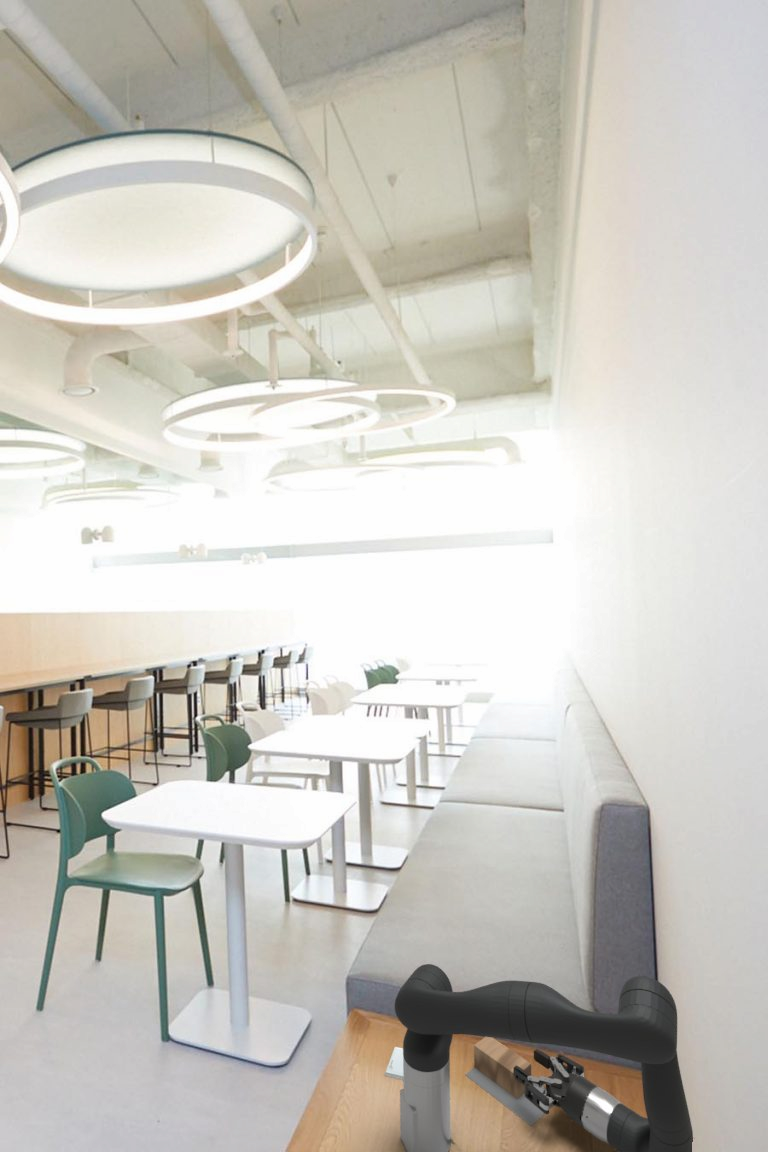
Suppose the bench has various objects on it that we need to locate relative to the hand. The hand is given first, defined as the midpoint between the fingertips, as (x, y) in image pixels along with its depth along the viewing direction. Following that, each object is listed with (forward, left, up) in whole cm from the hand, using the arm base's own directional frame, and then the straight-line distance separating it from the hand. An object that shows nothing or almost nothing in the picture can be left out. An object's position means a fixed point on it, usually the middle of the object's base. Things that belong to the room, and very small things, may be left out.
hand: (524, 1062), depth 138 cm
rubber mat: (-2, +3, -8) cm, 8 cm away
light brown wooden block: (0, 0, -4) cm, 4 cm away
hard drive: (-18, +16, -8) cm, 26 cm away
